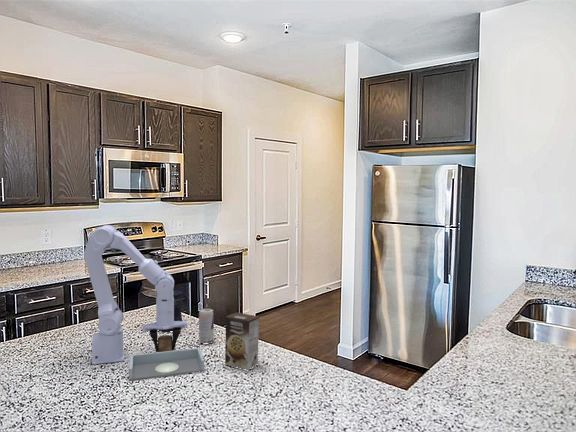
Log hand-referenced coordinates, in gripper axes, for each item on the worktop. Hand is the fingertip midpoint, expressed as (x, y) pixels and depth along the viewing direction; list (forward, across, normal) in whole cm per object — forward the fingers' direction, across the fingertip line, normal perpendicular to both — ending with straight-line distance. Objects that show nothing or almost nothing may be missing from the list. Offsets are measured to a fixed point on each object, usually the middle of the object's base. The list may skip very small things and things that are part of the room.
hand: (165, 350), depth 141 cm
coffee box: (+2, +23, -16) cm, 28 cm away
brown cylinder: (+2, 0, 0) cm, 2 cm away
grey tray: (+2, 0, -12) cm, 12 cm away
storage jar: (+2, +3, +28) cm, 28 cm away
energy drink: (+2, +15, +8) cm, 17 cm away
